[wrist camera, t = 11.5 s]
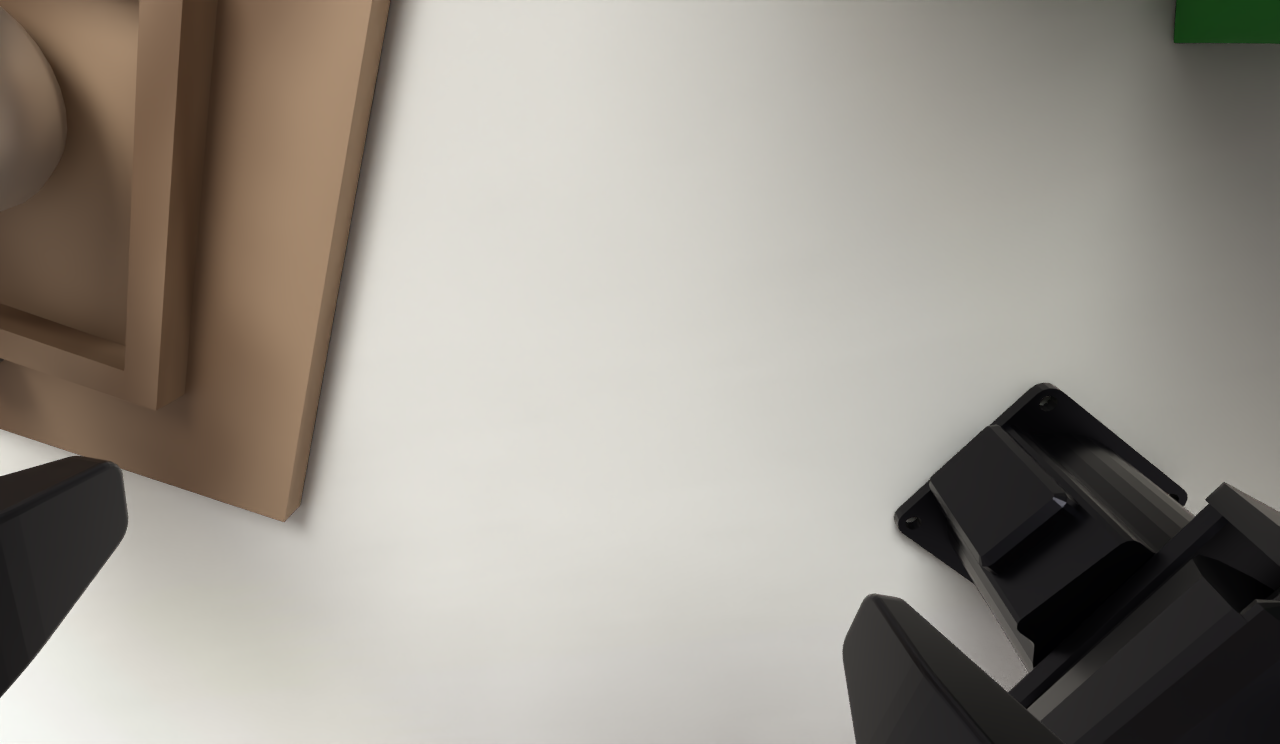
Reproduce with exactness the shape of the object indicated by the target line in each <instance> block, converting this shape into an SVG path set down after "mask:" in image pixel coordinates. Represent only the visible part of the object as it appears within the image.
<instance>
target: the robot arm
mask: <svg viewBox="0 0 1280 744" xmlns="http://www.w3.org/2000/svg"><path fill="white" fill-rule="evenodd" d="M1046 396H1050V400H1049V401H1048V403H1046V404H1044V405H1040V401H1041V400H1042V399H1043V398H1044V397H1046ZM1168 494H1170V495H1168ZM1205 500H1206V501H1207V502H1208V503H1209V504H1208V505H1207V506H1206V507H1205V508H1204V509H1203V510H1202V511H1200V512H1199V513H1198V514H1197V515H1196V516H1194V515H1193V514H1192V513H1190V512H1189V511H1188V510H1187V509H1185V508H1184V507H1183V506H1184V505H1185V504H1186V501H1187V493H1186V492H1185V490H1184V489H1182V488H1181V487H1180V486H1179V485H1177V484H1176V483H1175V482H1174V481H1172V480H1171V479H1170V478H1169V477H1167V476H1166V475H1165V474H1164V473H1163V472H1161V471H1160V470H1159V469H1158V468H1156V467H1155V466H1154V465H1153V464H1151V463H1150V462H1149V461H1148V460H1146V459H1145V458H1144V457H1143V456H1142V455H1140V454H1139V453H1138V452H1137V451H1135V450H1134V449H1133V448H1132V447H1130V446H1129V445H1128V444H1127V443H1125V442H1124V441H1123V440H1122V439H1120V438H1119V437H1118V436H1117V435H1116V434H1114V433H1113V432H1112V431H1111V430H1109V429H1108V428H1107V427H1106V426H1104V425H1103V424H1102V423H1101V422H1099V421H1098V420H1097V419H1096V418H1094V417H1093V416H1092V415H1091V414H1090V413H1088V412H1087V411H1086V410H1085V409H1083V408H1082V407H1081V406H1080V405H1078V404H1077V403H1076V402H1075V401H1073V400H1072V399H1071V398H1070V397H1068V396H1067V395H1066V394H1065V393H1064V392H1062V391H1061V390H1060V389H1058V388H1057V387H1056V386H1054V385H1052V384H1050V383H1041V384H1037V385H1035V386H1034V387H1032V388H1030V389H1029V390H1028V391H1027V392H1026V393H1025V394H1024V395H1023V396H1022V397H1020V398H1019V399H1018V400H1017V401H1016V402H1015V403H1014V404H1013V405H1012V406H1011V407H1009V408H1008V409H1007V410H1006V411H1005V412H1004V413H1003V414H1002V415H1001V416H1000V417H998V418H997V419H996V420H995V421H994V422H993V423H992V424H991V425H990V426H987V427H986V428H985V429H983V430H982V431H981V432H980V433H979V434H978V435H977V436H976V437H975V438H974V439H972V440H971V441H970V442H969V443H968V444H967V445H966V446H965V447H964V448H963V449H961V450H960V451H959V452H958V453H957V454H956V455H955V456H954V457H953V458H952V459H950V460H949V461H948V462H947V463H946V464H945V465H944V466H943V467H942V468H941V469H939V470H938V471H937V472H936V473H935V474H934V475H933V476H932V477H931V478H930V480H929V481H928V482H927V483H926V484H925V485H924V486H922V487H921V488H920V489H919V490H918V491H917V492H916V493H915V494H914V495H913V496H911V497H910V498H909V499H908V500H907V501H906V502H905V503H904V504H903V505H902V506H900V507H899V508H898V510H897V511H896V512H895V516H894V519H895V522H896V524H897V526H898V528H899V530H900V531H901V532H902V533H903V534H904V535H906V536H907V537H909V538H910V539H912V540H913V541H914V542H916V543H917V544H919V545H920V546H921V547H923V548H924V549H926V550H927V551H928V552H930V553H931V554H933V555H934V556H936V557H937V558H938V559H940V560H941V561H943V562H944V563H945V564H947V565H948V566H950V567H951V568H953V569H954V570H955V571H957V572H958V573H960V574H961V575H962V576H964V577H965V578H967V579H968V580H970V581H971V582H972V583H974V584H975V585H976V587H977V588H978V590H979V591H980V593H981V595H982V596H983V598H984V600H985V601H986V603H987V605H988V606H989V608H990V610H991V611H992V613H993V614H994V616H995V618H996V619H997V621H998V623H999V624H1000V626H1001V628H1002V629H1003V631H1004V633H1005V634H1006V636H1007V638H1008V639H1009V641H1010V642H1011V644H1012V646H1013V647H1014V649H1015V651H1016V652H1017V654H1018V656H1019V657H1020V659H1021V661H1022V662H1023V664H1024V665H1025V667H1026V669H1027V670H1028V672H1029V673H1028V674H1027V675H1026V676H1025V677H1024V678H1023V679H1022V680H1021V681H1020V682H1019V683H1017V684H1016V685H1015V686H1014V687H1013V688H1012V689H1011V690H1010V691H1009V692H1007V691H1005V690H1004V689H1003V688H1002V687H1001V686H1000V685H999V684H998V683H996V682H995V681H994V680H993V679H992V678H991V677H990V676H989V675H987V674H986V673H985V672H984V671H983V670H982V669H981V668H980V667H978V666H977V665H976V664H975V663H974V662H973V661H972V660H971V659H969V658H968V657H967V656H966V655H965V654H964V653H963V652H961V651H960V650H959V649H958V648H957V647H956V646H955V645H954V644H952V643H951V642H950V641H949V640H948V639H947V638H946V637H945V636H943V635H942V634H941V633H940V632H939V631H938V630H937V629H936V628H934V627H933V626H932V625H931V624H930V623H929V622H928V621H927V620H925V619H924V618H923V617H922V616H921V615H920V614H919V613H918V612H916V611H915V610H914V609H913V608H912V607H911V606H910V605H909V604H907V603H906V602H905V601H904V600H902V599H900V598H897V597H892V596H886V595H880V594H870V595H868V596H867V597H866V598H865V599H864V600H863V602H862V604H861V606H860V608H859V610H858V612H857V614H856V616H855V618H854V620H853V622H852V625H851V627H850V629H849V631H848V633H847V635H846V637H845V640H844V644H843V663H844V670H845V676H846V682H847V689H848V695H849V702H850V708H851V714H852V721H853V727H854V734H855V740H856V744H1280V512H1278V511H1277V510H1275V509H1273V508H1271V507H1269V506H1267V505H1266V504H1264V503H1262V502H1260V501H1258V500H1256V499H1254V498H1253V497H1251V496H1249V495H1247V494H1245V493H1243V492H1242V491H1240V490H1238V489H1236V488H1234V487H1232V486H1231V485H1229V484H1227V483H1225V482H1223V483H1222V484H1221V485H1220V486H1219V487H1218V488H1217V489H1216V490H1215V491H1214V492H1213V493H1212V494H1210V495H1209V496H1208V497H1207V498H1206V499H1205ZM911 517H917V518H916V520H915V521H913V522H906V521H907V519H909V518H911ZM127 526H128V512H127V504H126V497H125V489H124V481H123V474H122V470H121V469H120V467H119V466H118V465H117V464H116V463H114V462H112V461H108V460H102V459H96V458H90V457H85V456H72V457H67V458H64V459H60V460H57V461H53V462H50V463H46V464H43V465H39V466H36V467H32V468H29V469H25V470H22V471H18V472H15V473H11V474H7V475H4V476H0V698H1V696H2V695H3V694H4V693H5V692H6V691H7V690H8V689H9V687H10V686H11V685H12V684H13V683H14V682H15V681H16V679H17V678H18V677H19V676H20V675H21V673H22V672H23V671H24V670H25V669H26V668H27V666H28V665H29V664H30V663H31V662H32V660H33V659H34V658H35V657H36V655H37V654H38V653H39V651H40V650H41V649H42V648H43V646H44V645H45V644H46V643H47V641H48V640H49V639H50V637H51V636H52V634H53V633H54V632H55V630H56V629H57V628H58V626H59V625H60V624H61V622H62V621H63V620H64V618H65V617H66V616H67V614H68V613H69V611H70V610H71V609H72V607H73V606H74V605H75V603H76V602H77V601H78V599H79V598H80V597H81V595H82V594H83V593H84V591H85V590H86V588H87V587H88V586H89V584H90V583H91V582H92V580H93V579H94V578H95V576H96V575H97V574H98V572H99V571H100V570H101V568H102V567H103V565H104V564H105V563H106V561H107V560H108V559H109V557H110V556H111V555H112V553H113V552H114V551H115V549H116V548H117V547H118V545H119V544H120V542H121V541H122V539H123V537H124V535H125V533H126V530H127Z"/></svg>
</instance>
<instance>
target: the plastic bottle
mask: <svg viewBox="0 0 1280 744" xmlns="http://www.w3.org/2000/svg"><path fill="white" fill-rule="evenodd" d="M66 135H67V118H66V108H65V104H64V100H63V96H62V92H61V89H60V86H59V84H58V82H57V79H56V77H55V75H54V72H53V70H52V68H51V66H50V64H49V63H48V61H47V59H46V58H45V56H44V54H43V53H42V51H41V49H40V48H39V46H38V45H37V44H36V43H35V41H34V40H33V39H32V38H31V36H30V35H29V34H28V33H27V31H26V30H25V29H24V28H23V27H22V26H21V25H20V24H19V23H18V22H17V21H16V20H15V19H14V18H13V17H12V16H11V15H10V14H9V13H8V12H6V11H5V10H4V9H3V8H2V7H1V6H0V211H3V210H6V209H8V208H11V207H14V206H17V205H19V204H22V203H24V202H25V201H27V200H28V199H29V198H31V197H32V196H34V195H35V194H36V193H38V192H39V190H40V189H41V188H42V186H43V185H44V184H45V183H46V181H47V180H48V179H49V177H50V176H51V174H52V173H53V171H54V170H55V168H56V166H57V165H58V163H59V161H60V158H61V156H62V153H63V151H64V148H65V142H66Z"/></svg>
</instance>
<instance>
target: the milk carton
mask: <svg viewBox="0 0 1280 744" xmlns="http://www.w3.org/2000/svg"><path fill="white" fill-rule="evenodd" d="M1174 43H1265V44H1280V0H1176V14H1175V29H1174Z"/></svg>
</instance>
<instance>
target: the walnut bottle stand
mask: <svg viewBox="0 0 1280 744" xmlns="http://www.w3.org/2000/svg"><path fill="white" fill-rule="evenodd" d="M0 6H1V7H2V8H3V9H4V10H5V11H6V12H8V13H9V14H10V15H11V16H12V17H13V18H14V19H15V20H16V21H17V22H18V23H19V24H20V25H21V26H22V27H23V28H24V29H25V30H26V31H27V33H28V34H29V35H30V36H31V38H32V39H33V40H34V41H35V43H36V44H37V45H38V46H39V48H40V49H41V51H42V53H43V54H44V56H45V58H46V59H47V61H48V63H49V64H50V66H51V68H52V70H53V72H54V75H55V77H56V79H57V82H58V84H59V86H60V89H61V92H62V96H63V100H64V104H65V108H66V118H67V135H66V142H65V148H64V151H63V153H62V156H61V158H60V161H59V163H58V165H57V166H56V168H55V170H54V171H53V173H52V174H51V176H50V177H49V179H48V180H47V181H46V183H45V184H44V185H43V186H42V188H41V189H40V190H39V192H38V193H36V194H35V195H34V196H32V197H31V198H29V199H28V200H27V201H25V202H24V203H22V204H19V205H17V206H14V207H11V208H8V209H6V210H3V211H0V429H2V430H6V431H9V432H12V433H15V434H18V435H21V436H24V437H27V438H30V439H33V440H36V441H39V442H42V443H45V444H48V445H51V446H54V447H57V448H60V449H63V450H66V451H69V452H72V453H75V454H78V455H81V456H85V457H90V458H96V459H102V460H108V461H112V462H114V463H116V464H117V465H118V466H119V467H120V468H121V469H124V470H127V471H130V472H133V473H136V474H139V475H142V476H145V477H148V478H151V479H154V480H157V481H160V482H163V483H167V484H170V485H173V486H176V487H179V488H182V489H185V490H188V491H191V492H194V493H197V494H200V495H203V496H206V497H209V498H212V499H215V500H218V501H221V502H224V503H227V504H230V505H233V506H236V507H239V508H242V509H245V510H249V511H252V512H255V513H258V514H261V515H264V516H267V517H270V518H273V519H276V520H279V521H282V522H285V521H286V520H287V519H288V518H289V517H290V516H291V514H292V513H293V512H294V511H295V510H296V509H297V508H298V507H299V506H300V503H301V498H302V492H303V486H304V481H305V475H306V470H307V464H308V458H309V453H310V447H311V442H312V436H313V431H314V425H315V419H316V414H317V408H318V403H319V397H320V391H321V386H322V380H323V375H324V369H325V363H326V358H327V352H328V347H329V341H330V335H331V330H332V324H333V319H334V313H335V308H336V302H337V296H338V291H339V285H340V280H341V274H342V268H343V263H344V257H345V252H346V246H347V240H348V235H349V229H350V224H351V218H352V213H353V207H354V201H355V196H356V190H357V185H358V179H359V173H360V168H361V162H362V157H363V151H364V145H365V140H366V134H367V129H368V123H369V117H370V112H371V106H372V101H373V95H374V90H375V84H376V78H377V73H378V67H379V62H380V56H381V50H382V45H383V39H384V34H385V28H386V22H387V17H388V11H389V6H390V0H0Z"/></svg>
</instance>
